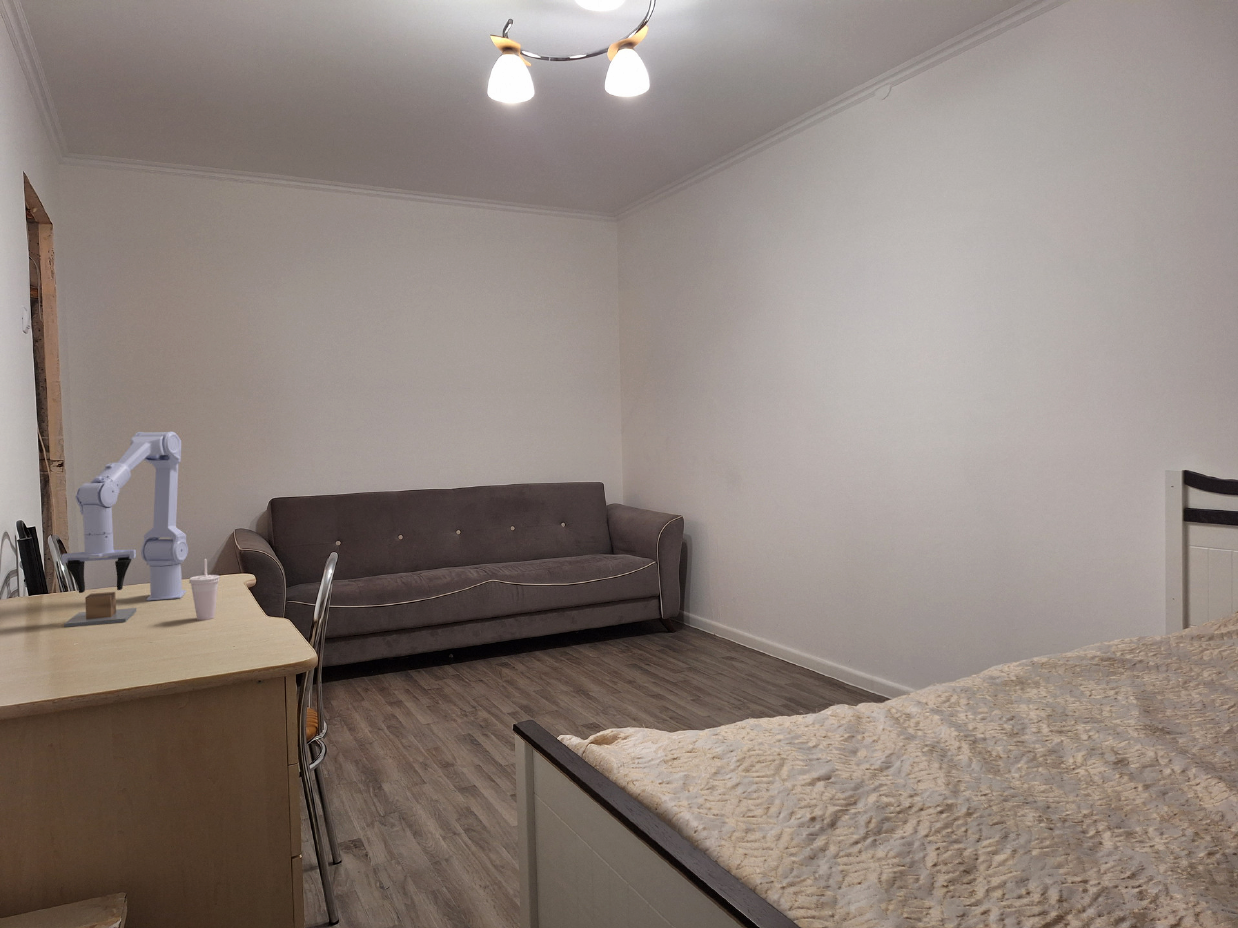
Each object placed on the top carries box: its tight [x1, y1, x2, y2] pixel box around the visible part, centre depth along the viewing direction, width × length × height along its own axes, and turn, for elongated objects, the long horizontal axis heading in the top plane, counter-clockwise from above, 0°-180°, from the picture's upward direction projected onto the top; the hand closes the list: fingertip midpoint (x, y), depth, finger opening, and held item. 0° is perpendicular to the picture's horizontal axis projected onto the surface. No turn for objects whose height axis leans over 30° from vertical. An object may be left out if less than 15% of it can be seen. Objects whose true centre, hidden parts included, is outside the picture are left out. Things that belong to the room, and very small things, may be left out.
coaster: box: [63, 607, 137, 628], centre depth 188 cm, size 12×12×1 cm
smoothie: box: [188, 558, 220, 621], centre depth 187 cm, size 6×6×14 cm
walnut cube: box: [84, 591, 117, 619], centre depth 187 cm, size 5×5×5 cm
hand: (101, 590), depth 187 cm, fingers open, 7 cm apart
